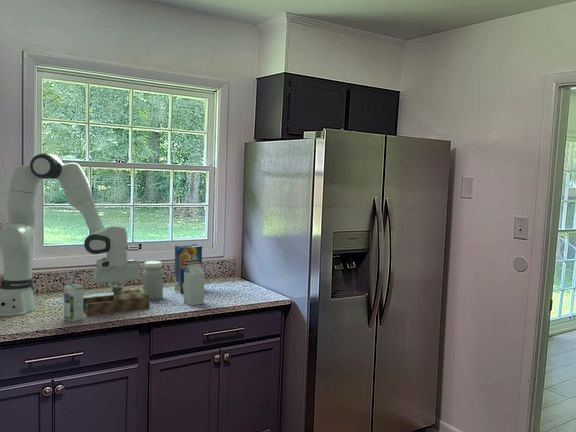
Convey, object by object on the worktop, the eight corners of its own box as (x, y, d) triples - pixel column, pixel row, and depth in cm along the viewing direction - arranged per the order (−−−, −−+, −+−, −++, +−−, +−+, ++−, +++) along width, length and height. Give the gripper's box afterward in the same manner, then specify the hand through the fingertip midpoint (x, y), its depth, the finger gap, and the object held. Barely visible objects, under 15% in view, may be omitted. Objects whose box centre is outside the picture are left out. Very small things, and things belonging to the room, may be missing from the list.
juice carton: (180, 294, 269) (181, 247, 267) (174, 291, 275) (174, 245, 272) (201, 291, 276) (202, 246, 274) (194, 288, 282) (195, 244, 280)
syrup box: (63, 319, 219) (63, 285, 217) (75, 316, 224) (75, 283, 222) (71, 322, 216) (71, 287, 214) (84, 319, 221) (84, 285, 219)
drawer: (117, 308, 234) (117, 288, 233) (112, 303, 241) (112, 284, 241) (145, 305, 241) (145, 286, 240) (139, 300, 248) (139, 282, 248)
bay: (88, 315, 226) (88, 301, 225) (81, 308, 236) (81, 295, 235) (149, 308, 241) (149, 295, 240) (141, 302, 251) (141, 289, 250)
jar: (160, 300, 254) (160, 264, 252) (140, 300, 254) (140, 263, 252) (164, 295, 264) (165, 260, 262) (145, 295, 264) (145, 260, 262)
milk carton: (183, 302, 252) (184, 263, 250) (196, 300, 257) (197, 262, 255) (190, 306, 247) (191, 266, 245) (203, 303, 251) (204, 264, 250)
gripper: (137, 258, 245) (137, 287, 246) (92, 261, 233) (92, 291, 235) (141, 260, 240) (141, 290, 241) (95, 263, 228) (95, 294, 229)
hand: (116, 290), depth 238 cm, fingers closed on drawer, 2 cm apart
